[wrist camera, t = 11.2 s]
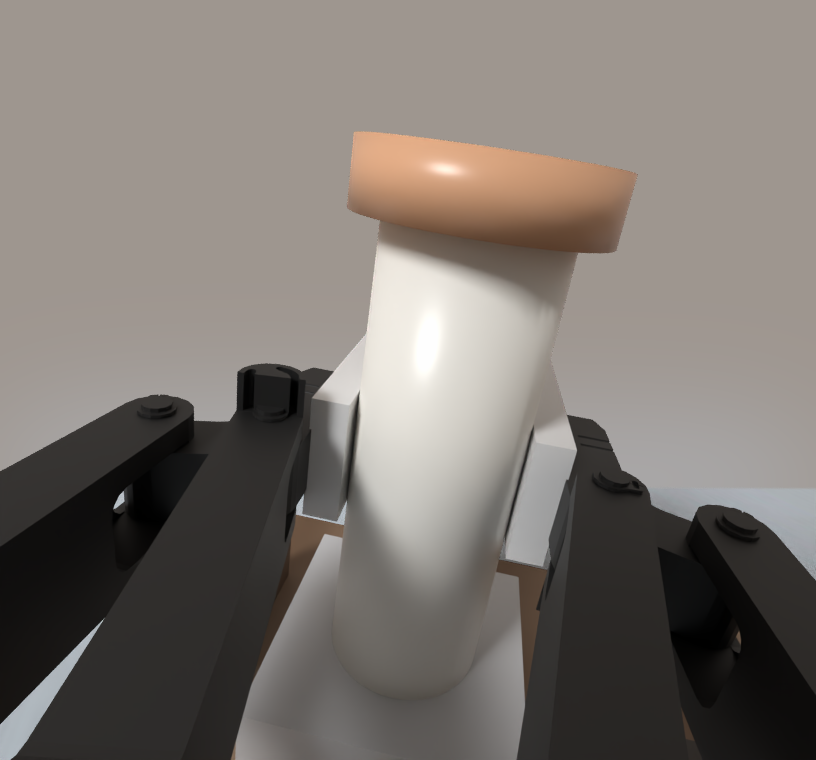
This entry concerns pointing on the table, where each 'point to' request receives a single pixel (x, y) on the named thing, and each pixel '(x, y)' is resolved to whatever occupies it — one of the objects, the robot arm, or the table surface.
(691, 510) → the table surface
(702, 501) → the table surface
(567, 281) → the fader
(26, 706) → the table surface
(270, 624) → the fader track
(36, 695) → the table surface
